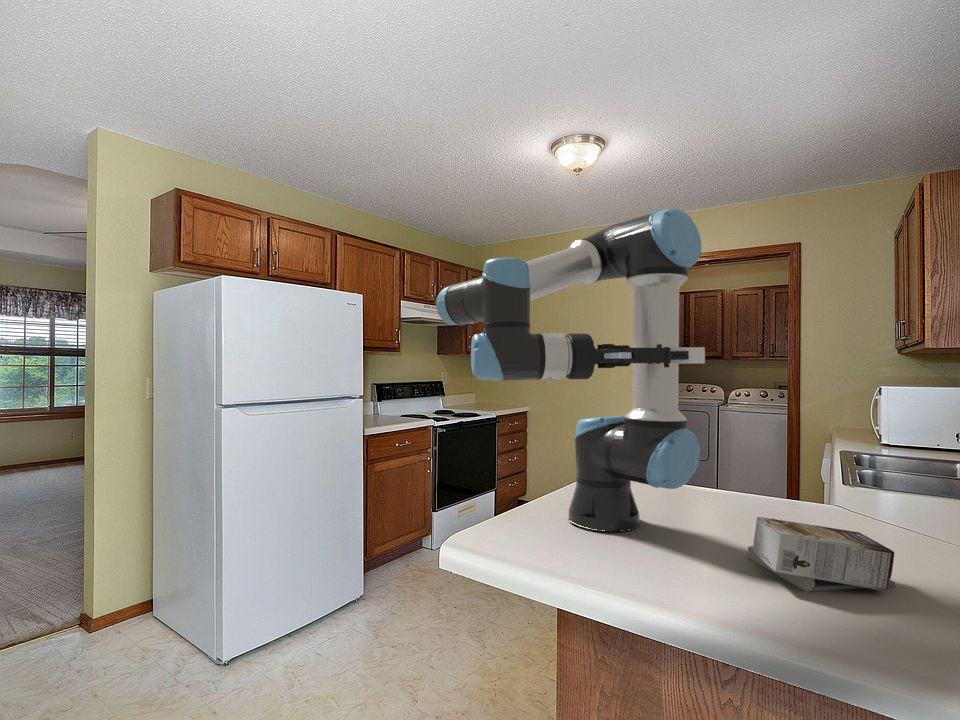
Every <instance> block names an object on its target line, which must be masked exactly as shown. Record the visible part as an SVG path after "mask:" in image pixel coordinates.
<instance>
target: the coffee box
mask: <svg viewBox="0 0 960 720" xmlns="http://www.w3.org/2000/svg"><path fill="white" fill-rule="evenodd" d="M754 531H755V532H754V538H753V545H752V546H753V550H752V551H753V553H754V554H756V555H757V556H758V557H759V558H760V559H761V560H762V561H763V562H764V563H765V564H767V565H768V566H769V567H770V568H771V569H772V570H773V571H774V572H778V573H784V574H790V575H796V576H802V577H808V578H814V579H819V580H825V581H831V582H836V583H842V584H848V585H853V586H859V587H865V588H864V589H872V590H877V591H883V592H888V591H889V587H890V586H889V580H892V579H891V578H892V574H893V566H894V559H895V551H894V550H892V549H890V548H888V547H886V546H885V545H883V544H881V543H880V542H877V541H875V540H873V539H872V538H870V537H868V536H866V535H865V534H863V533H861V532H859V531H853V530H852V531H851V530H846V529H839V528H834V527H827V526H821V525H815V524H814V525H813V524H808V523H802V522H795V521H789V520H788V521H787V520H782V519H775V518H771V517H770V518H769V517H763V516H762V517H761V516H757V517H756V523H755V530H754Z"/></svg>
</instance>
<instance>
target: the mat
mask: <svg viewBox="0 0 960 720" xmlns="http://www.w3.org/2000/svg"><path fill="white" fill-rule="evenodd" d="M747 548H748V549H747V554H748V555H747V558H748V559H750V560H751V561H753V562H755V563H756V564H757V565H760V566H762V567H763V568H765V569H767V570H768V571H770V572H771V573H773V574H775V575H777V576H778V577H780V578H781V579H784V580H785V581H786V582H788V583H790V584H791V585H794V586H795V587H797V588H799V589H800V590H802V591H804V592H806V593H807V592H820V591H823V592H824V591H838V590H852V589H853V590H855V589H866V588H865V587H859V586H853V585H848V584H842V583H836V582H831V581H825V580H819V579H814V578H808V577H802V576H796V575H790V574H784V573H778V572H774V571H773V570H772V569H771V568H770V567H769V566H768V565H767V564H765V563H764V562H763V561H762V560H761V559H760V558H759V557H758V556H757V555H756V554H754V553H753V551H752V550H753V545H751V546H750V545H748V546H747ZM889 587H896V581H894V580H892V579H890V580H889Z"/></svg>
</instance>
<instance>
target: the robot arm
mask: <svg viewBox="0 0 960 720" xmlns="http://www.w3.org/2000/svg"><path fill="white" fill-rule="evenodd" d="M701 254H702V240H701V234H700V232H699V229H698V227H697V224H696V223H695V222H694V221H693V218H692V217H691V216H690V215H689V214H688V213H687V212H685V211H684V210H682V209H679V208H667V209H662V210H655V211H653V212H651V213H648V214H645V215H642V216H638V217H637V216H636V217H634V218H631V219H628V220H624V221H620V222H618V223H613V224H612V225H610V226H608V227H607V226H606V227H605V228H603V229H601V230H599V231H597V232H595V233H593V234H591V235H588V236H586V237H584V238H580V239H578V240H575V241H573V242H572V243H571V244H570V245H569V246H568V248H565V249H563V250H559V251H556V252H553V253H549V254H546V255H544V256H540V257H537V258H534V259H530V260H528V261H526V260H524V259H521V258H517V257H496V258H491V259H487V260H486V261H485V263H484V264H483V269H482V271H483V272H482V275H481V276H478V277H476V278H472V279H469V280H466V281H463V282H458V283H453V284H450V285H449V286H446V287H445V288H443V289H441V291H440V292H438V295H437V297H436V301H435V308H436V311H437V314H438V316H439V318H440V319H441V320H442V321H443V322H444V323H445V324H448V325H452V326H460V327H461V326H464V325H467V324H469V325H470V324H474V323H476V324H477V323H483V332H480V333H475V334H473V336H472V338H471V344H470V363H471V365H470V366H471V367H470V368H471V373H472V375H473V376H474V377H475V378H476V380H480V381H536V380H538V381H539V380H540V381H541V380H545V381H546V384H552V382H553V380H564V379H565V378H567V379H568V380H588V379H590V378H591V377H592V376H593V374H594V372H595V365H597V369H614V368H616V367H629V366H631V365H632V364H633V365H632V367H633V368H632V370H633V371H632V408H631V410H630V411H628V412H627V413H626V414H625V415H615V416H613V415H612V416H601V417H600V416H599V417H589V418H582V419H580V420H578V422H577V423H576V427H575V436H574V440H575V441H574V442H575V445H574V447H575V472H576V473H575V475H576V476H575V478H576V479H575V480H576V481H575V482H576V485H575V489H574V492H573V494H572V498H571V500H570V501H571V502H570V505H569V508H568V520H569V519H570V520H571V521H572V522H574V523H576V524H578V525H581V526H584V527H588V528H591V529H597V530H605V531H621V530H628V529H632V528H635V527H637V526H638V525H639V526H640V524H639V523H640V521H641V520H640V512H639V509H638V505H637V503H636V499H635V497H634V494H633V491H632V487H631V486H632V485H631V484H632V483H631V482H634V483H639V484H643V485H648V486H650V487H653V488H657V489H659V488H661V489H669V490H675V489H679V488H681V487H684V486H685V485H686V484H687V483H688V482H689V481H690V480H691V478H692V477H693V476H694V474H695V472H696V470H697V467H698V465H699V461H700V454H701V449H700V442H699V440H698V439H697V435H696V434H695V433H694V432H693V431H692V430H689V429H688V428H687V417H686V416H685V415H684V414H683V413H682V412H681V411H680V409H679V375H680V374H679V369H680V367H679V365H680V364H682V365H683V364H686V365H687V364H696V365H697V364H706V351H705V350H706V348H705V347H704V346H701V347H700V346H697V347H696V346H695V347H694V346H693V347H690V346H689V347H683V346H682V347H680V346H679V345H680V343H679V342H680V288H681V286H683V285H684V284H685V283H686V282H687V281H688V278H689V277H688V275H689V274H688V271H689V270H688V268H690V267H692V266H693V265H695V264H697V262H698V261H699V258H700V257H701ZM624 278H625V279H626V283H627V284H628V285H630V287H632V289H633V344H632V345H633V347H631V346H630V345H627V344H626V345H623V344H622V345H620V344H619V345H616V344H614V343H602V344H597V348H596V347H595V342H594V340H593V337H592V336H591V335H590V333H589V334H588V333H567V334H564V333H563V332H559V333H558V332H554V333H553V332H551V333H550V332H549V333H547V332H545V333H542V332H540V333H531V301H533V300H536V299H539V298H542V297H544V296H548V295H550V294H553V293H556V292H559V291H562V290H564V289H566V288H569V287H572V286H575V285H577V284H581V285H591V284H594V283H596V282H601V281H606V280H607V281H608V280H615V279H624ZM639 526H638V527H639ZM638 527H637V528H638ZM635 529H636V528H635ZM632 530H633V529H632ZM628 531H629V530H628ZM621 532H622V531H621Z"/></svg>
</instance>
